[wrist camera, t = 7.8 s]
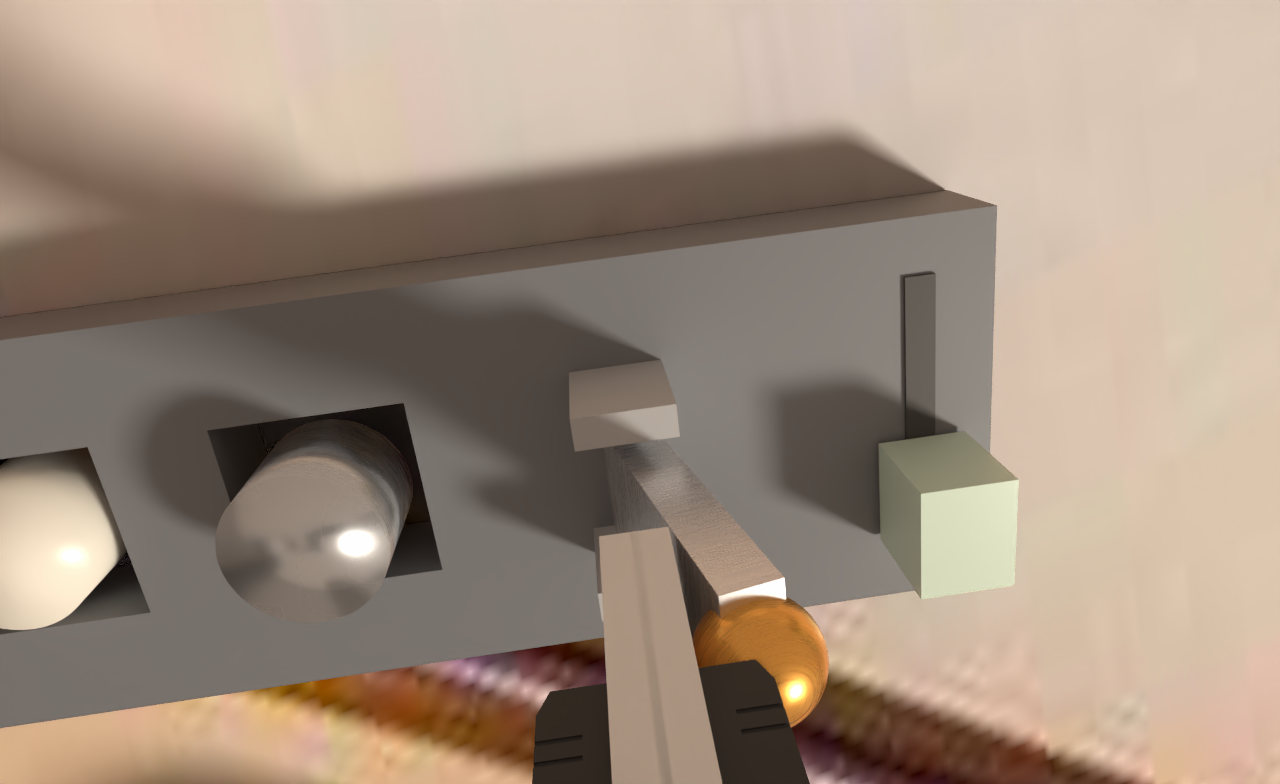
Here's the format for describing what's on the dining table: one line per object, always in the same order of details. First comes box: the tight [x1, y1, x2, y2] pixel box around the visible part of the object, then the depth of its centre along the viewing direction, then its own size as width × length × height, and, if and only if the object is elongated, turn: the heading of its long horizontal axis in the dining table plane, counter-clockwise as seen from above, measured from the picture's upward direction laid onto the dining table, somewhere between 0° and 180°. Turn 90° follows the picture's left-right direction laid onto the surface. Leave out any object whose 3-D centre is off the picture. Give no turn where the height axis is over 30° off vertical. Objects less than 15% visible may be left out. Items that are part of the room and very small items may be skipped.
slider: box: [878, 431, 1019, 600], centre depth 23 cm, size 2×3×3 cm
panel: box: [0, 190, 997, 728], centre depth 23 cm, size 30×11×6 cm, turn 96°
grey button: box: [215, 419, 413, 623], centre depth 22 cm, size 4×4×4 cm
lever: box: [604, 439, 829, 727], centre depth 18 cm, size 2×3×9 cm
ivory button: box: [0, 447, 127, 630], centre depth 23 cm, size 4×4×4 cm
